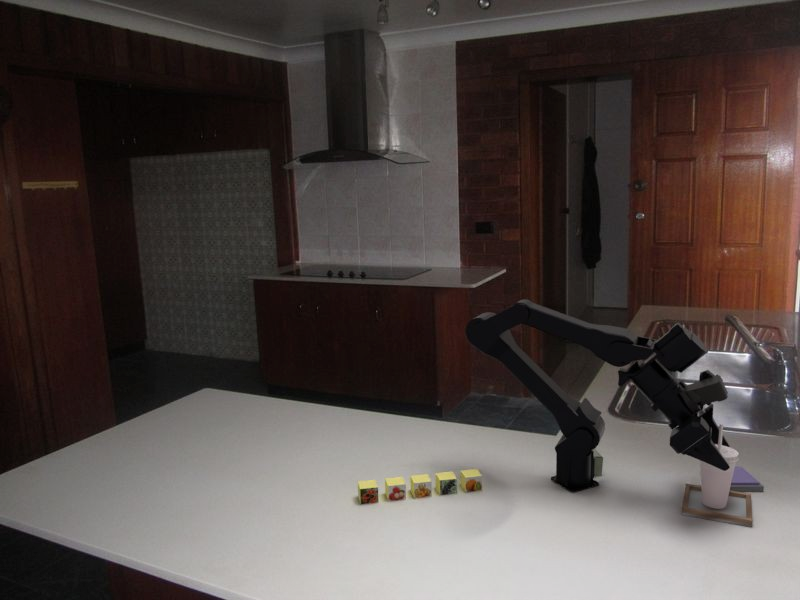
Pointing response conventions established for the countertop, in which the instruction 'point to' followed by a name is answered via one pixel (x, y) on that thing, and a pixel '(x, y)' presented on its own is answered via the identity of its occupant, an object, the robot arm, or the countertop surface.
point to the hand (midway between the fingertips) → (727, 458)
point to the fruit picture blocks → (420, 486)
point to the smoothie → (718, 477)
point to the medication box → (598, 463)
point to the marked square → (733, 513)
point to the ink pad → (744, 481)
